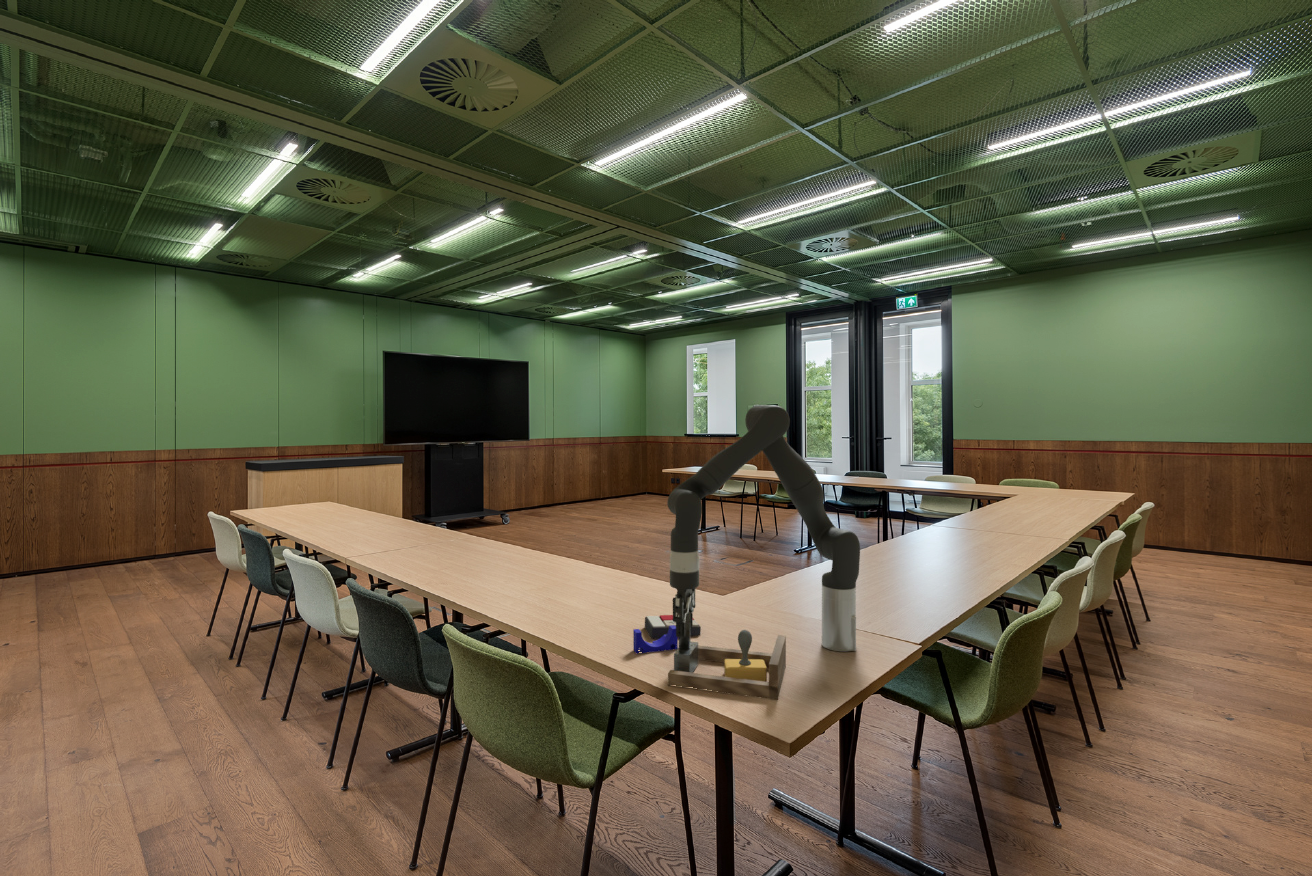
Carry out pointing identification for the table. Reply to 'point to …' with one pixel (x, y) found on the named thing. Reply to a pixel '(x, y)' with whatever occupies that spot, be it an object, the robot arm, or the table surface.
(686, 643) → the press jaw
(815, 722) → the table surface
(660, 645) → the blue pipe saddle
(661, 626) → the calculator
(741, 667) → the rubber stamp
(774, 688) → the frame
